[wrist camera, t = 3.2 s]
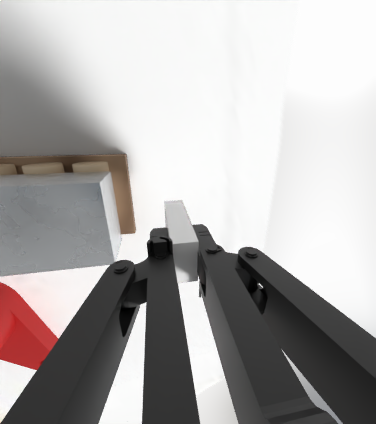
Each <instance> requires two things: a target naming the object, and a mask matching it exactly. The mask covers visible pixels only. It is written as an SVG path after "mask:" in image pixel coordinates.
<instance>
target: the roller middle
mask: <svg viewBox="0 0 376 424" xmlns="http://www.w3.org/2000/svg"><path fill="white" fill-rule="evenodd" d="M22 170H23V173H24V174H47V173H65V172H64V168H63V164H62V163H59V162H49V163H35V164H28V165H24V166H22Z"/></svg>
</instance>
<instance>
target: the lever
mask: <svg viewBox="0 0 376 424" xmlns="http://www.w3.org/2000/svg"><path fill="white" fill-rule="evenodd" d="M57 341H58V338H57V337H56V336H55V335H54V334H53V332H52V331H51V330H50V329H49V328H48V327H47V326H46V324H45V323H44V322H43V321H42V320H41V319H40V318H39V317H38V315H37V314H36V313H35V312H34V311H33V310H32V309H31V307H30V306H29V305H28V304H27V303H26V302H25V301H24V300H23V298H22V297H21V296H20V295H19V294H18V293H17V292H16V291H15V290H13V289H12V288H11V287H9V286H7V285H5V284H3V283H1V282H0V359H1V360H4V361H7V362H11V363H14V364H17V365H21V366H24V367H28V368H31V369H34V370H38V368H39V367H40V365H41V364H42V362H43V361H44V360H45V358H46V357H47V355H48V354H49V352H50V351H51V349H52V348H53V346H54V345H55V344H56V342H57Z"/></svg>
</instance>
